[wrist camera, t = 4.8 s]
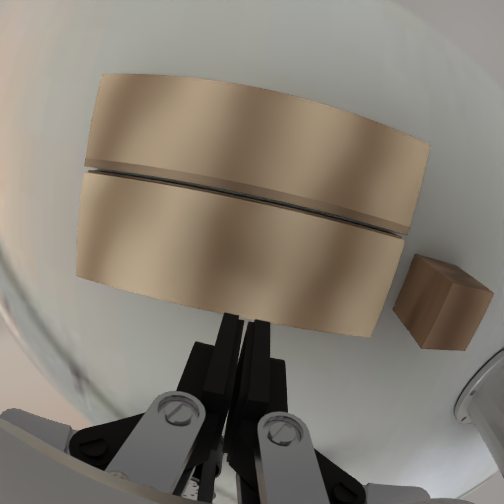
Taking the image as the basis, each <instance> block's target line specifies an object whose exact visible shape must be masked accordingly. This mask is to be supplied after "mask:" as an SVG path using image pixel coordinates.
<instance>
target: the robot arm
mask: <svg viewBox="0 0 504 504" xmlns="http://www.w3.org/2000/svg"><path fill="white" fill-rule="evenodd" d="M243 325H244V320H239V315H235V314H231V313H226V312H224V315H223V319H222V322H221V326H220V329H219V333H218V336H217V340H216V343H215V346H213V345H209V344H205V343H200V342H197V341H196V342H195V343H194V346H193V348H192V351H191V353H190V356H189V359H188V361H187V364H186V366H185V369H184V372H183V374H182V377H181V379H180V382H179V385H178V387H177V390H176V391H170V392H165V393H163V394H161V395H159V396H158V397H157V398H156V399H155V400H154V401H153V402H152V404H151V405H150V407H149V408H148V410H147V411H146V412H145V413H142V414H139V415H135V416H132V417H128V418H125V419H121V420H117V421H113V422H109V423H105V424H101V425H97V426H93V427H89V428H85V429H82V430H79V431H77V430H73V429H72V428H71V426H69V425H65V424H62V423H58V422H55V421H52V420H49V419H46V418H43V417H40V416H37V415H34V414H31V413H28V412H26V411H23V410H20V409H15V408H12V409H7V410H6V411H4V412H2V414H1V415H0V504H212V503H206V502H201V501H197V500H192V499H188V498H184V497H183V495H184V493H185V490H186V488H187V486H188V484H189V482H190V479H191V477H192V475H193V473H194V471H195V467H196V466H197V465H200V464H202V463H204V462H206V461H208V460H209V456H210V452H211V450H214V451H217V448H218V445H219V441H220V438H221V434H222V431H223V427H224V424H225V420H226V417H227V413H228V417H227V423H226V429H225V435H224V441H223V447H222V452H224V453H228V455H227V462H229V465H230V466H231V467H232V468H233V469H234V470H235V471H236V472H237V473H236V485H237V498H238V504H474V503H472V502H468V501H465V500H461V499H452V498H433V499H430V495H429V494H428V493H427V491H426V490H424V489H422V488H420V487H413V486H394V485H382V484H373V483H368V484H367V485H362V484H361V483H360V482H358V481H357V480H356V479H355V478H353V477H352V476H350V475H349V474H348V473H346V472H345V471H343V470H342V469H341V468H339V467H338V466H337V465H335V464H334V463H332V462H331V461H330V460H328V459H327V458H326V457H325V456H323V455H322V454H321V453H319V452H318V451H317V450H315V449H314V448H313V444H312V441H311V438H310V434H309V431H308V428H307V426H306V424H305V423H304V422H303V421H302V420H301V419H299V418H298V417H296V416H295V415H292V414H290V413H288V405H287V386H286V368H285V361H284V360H281V359H275V358H270V322H268V321H263V320H258V319H255V321H254V323H253V322H248V326H247V330H246V333H245V337H244V341H243V345H242V349H241V353H240V357H239V361H238V356H239V350H240V344H241V337H242V331H243ZM237 363H238V364H237ZM228 410H229V411H228ZM454 415H455V417H456V419H457V421H458V422H459V423H461V424H469V423H474V425H475V427H476V428H477V430H478V432H479V433H480V435H481V437H482V439H483V440H484V442H485V444H486V446H487V447H488V449H489V451H490V453H491V455H492V457H493V458H494V460H495V462H496V464H497V466H498V468H499V470H500V472H501V474H502V476H503V478H504V350H503V351H501V352H500V353H498V354H497V355H496V356H495V357H494V358H492V359H491V360H490V361H489V362H488V363H487V364H486V365H485V366H484V367H483V368H482V369H481V370H480V371H479V372H478V373H477V374H476V376H475V377H474V378H473V379H472V380H471V382H470V383H469V384H468V386H467V387H466V388H465V390H464V391H463V393H462V394H461V396H460V398H459V400H458V402H457V404H456V407H455V412H454Z"/></svg>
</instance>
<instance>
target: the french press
mask: <svg viewBox="0 0 504 504" xmlns="http://www.w3.org/2000/svg"><path fill="white" fill-rule="evenodd" d="M223 441H224V439H223V437H222V436H221V438H220V441H219V445H218V448H217V451H214V450H211V452H210V456H209V460H208V461H206V462H204V463H202V464H200V465H197V466H196V467H195V471H194V473H193V475H192V477H191V479H190V482H189V484H188V486H187V488H186V490H185V493H184V495H183V497H184V498H188V499H192V500H197V501H201V502H206V503H212V500H213V499H214V498H215V497H216V494H215V492H214V481H215V478H216V477H218V476H219V475H220V473H221V468H222V458H223V454H224V452H222V447H223Z"/></svg>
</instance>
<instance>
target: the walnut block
mask: <svg viewBox="0 0 504 504" xmlns="http://www.w3.org/2000/svg"><path fill="white" fill-rule="evenodd" d="M493 294H494V293H493V292H492V291H490V290H489V289H488V288H486V287H485V286H484V285H482V284H481V283H480V282H478V281H477V280H476V279H474V278H473V277H472V276H470V275H469V274H467V273H466V272H465V271H463V270H462V269H460V268H459V267H457V266H455V265H452V264H449V263H445V262H442V261H438V260H435V259H431V258H428V257H424V256H421V255H417V254H415V255H414V258H413V261H412V263H411V266H410V269H409V271H408V274H407V277H406V279H405V282H404V284H403V287H402V289H401V292H400V294H399V296H398V299H397V301H396V303H395V306H394V308H393V311H394V312H395V314H396V315H397V316H398V318H399V319H400V320H401V322H402V323H403V324H404V326H405V327H406V328H407V330H408V331H409V332H410V334H411V335H412V336H413V338H414V339H415V341H416V342H417V343H418V345H419V346H420V348H421V349H438V350H460V351H465V350H466V348H467V346H468V344H469V343H470V341H471V339H472V337H473V335H474V334H475V332H476V330H477V328H478V326H479V324H480V322H481V320H482V318H483V316H484V314H485V312H486V310H487V308H488V305H489V303H490V301H491V299H492V297H493Z"/></svg>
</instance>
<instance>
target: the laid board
mask: <svg viewBox="0 0 504 504" xmlns="http://www.w3.org/2000/svg"><path fill="white" fill-rule="evenodd" d="M429 150H430V145H429V144H427V143H425V142H423V141H421V140H419V139H416V138H414V137H412V136H410V135H407V134H405V133H403V132H400V131H398V130H396V129H393V128H391V127H388V126H386V125H383V124H381V123H378V122H376V121H373V120H370V119H368V118H365V117H362V116H359V115H356V114H353V113H351V112H348V111H345V110H341V109H338V108H335V107H332V106H329V105H325V104H322V103H319V102H315V101H312V100H308V99H304V98H300V97H297V96H293V95H289V94H284V93H280V92H276V91H271V90H267V89H262V88H257V87H252V86H246V85H241V84H235V83H229V82H222V81H215V80H207V79H199V78H190V77H179V76H166V75H148V74H102V78H101V82H100V86H99V90H98V94H97V98H96V103H95V107H94V112H93V117H92V122H91V128H90V133H89V139H88V146H87V153H86V158H85V165H84V166H87V167H95V168H102V169H110V170H117V171H124V172H130V173H137V174H143V175H150V176H156V177H162V178H168V179H173V180H179V181H185V182H190V183H196V184H201V185H206V186H211V187H216V188H221V189H226V190H231V191H236V192H241V193H246V194H250V195H255V196H259V197H264V198H268V199H273V200H277V201H282V202H286V203H290V204H294V205H298V206H303V207H307V208H311V209H315V210H319V211H323V212H327V213H331V214H334V215H338V216H342V217H346V218H350V219H353V220H357V221H361V222H364V223H368V224H371V225H375V226H378V227H382V228H385V229H389V230H392V231H396V232H399V233H402V234H406V235H408V231H409V228H410V224H411V221H412V217H413V214H414V211H415V207H416V204H417V200H418V196H419V193H420V189H421V185H422V181H423V177H424V173H425V168H426V164H427V159H428V155H429Z"/></svg>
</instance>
